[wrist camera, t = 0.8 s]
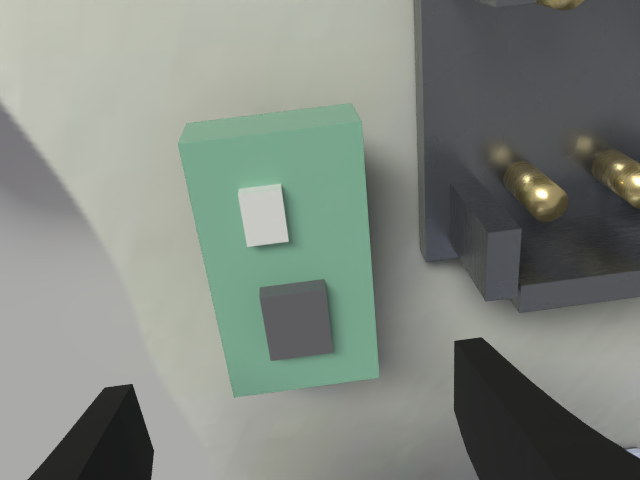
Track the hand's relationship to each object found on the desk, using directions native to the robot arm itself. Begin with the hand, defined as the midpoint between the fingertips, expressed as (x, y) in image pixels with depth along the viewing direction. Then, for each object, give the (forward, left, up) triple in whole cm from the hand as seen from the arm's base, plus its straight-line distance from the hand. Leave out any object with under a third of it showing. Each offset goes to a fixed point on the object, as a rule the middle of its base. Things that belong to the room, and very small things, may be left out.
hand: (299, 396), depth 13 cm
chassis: (+4, -10, -10) cm, 15 cm away
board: (0, 0, -7) cm, 7 cm away
